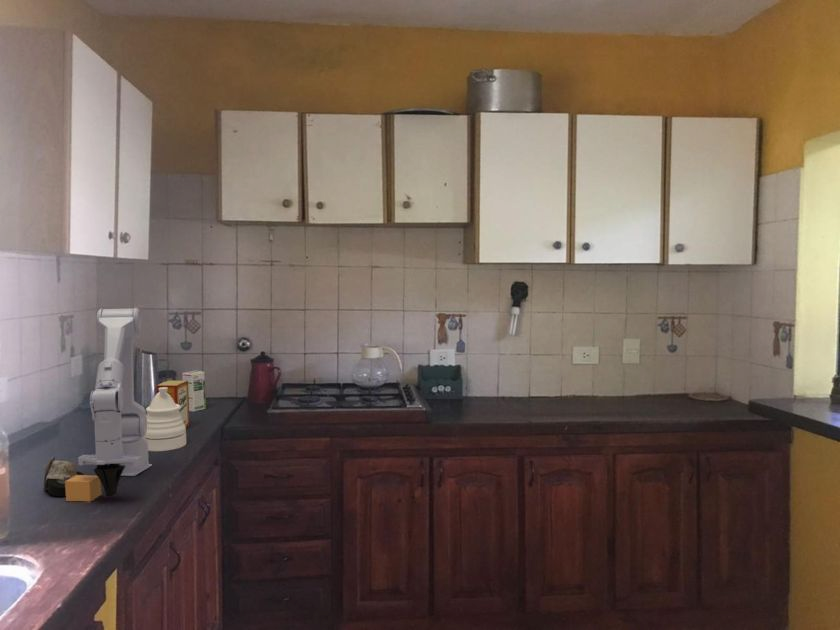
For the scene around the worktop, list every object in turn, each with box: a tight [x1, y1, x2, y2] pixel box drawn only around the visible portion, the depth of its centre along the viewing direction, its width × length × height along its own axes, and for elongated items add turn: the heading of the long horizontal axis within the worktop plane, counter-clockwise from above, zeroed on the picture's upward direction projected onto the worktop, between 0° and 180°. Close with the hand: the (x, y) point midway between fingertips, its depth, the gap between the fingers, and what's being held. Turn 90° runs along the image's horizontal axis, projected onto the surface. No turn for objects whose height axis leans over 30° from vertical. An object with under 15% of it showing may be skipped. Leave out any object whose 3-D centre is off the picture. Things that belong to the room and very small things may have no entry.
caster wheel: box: [43, 455, 85, 497], centre depth 167 cm, size 7×11×10 cm
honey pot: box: [144, 387, 187, 452], centre depth 206 cm, size 13×13×18 cm
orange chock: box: [65, 474, 102, 502], centre depth 161 cm, size 4×6×5 cm
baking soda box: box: [156, 379, 191, 429], centre depth 226 cm, size 10×6×16 cm
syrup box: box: [182, 370, 207, 412], centre depth 255 cm, size 6×6×14 cm
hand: (111, 494), depth 160 cm, fingers closed
